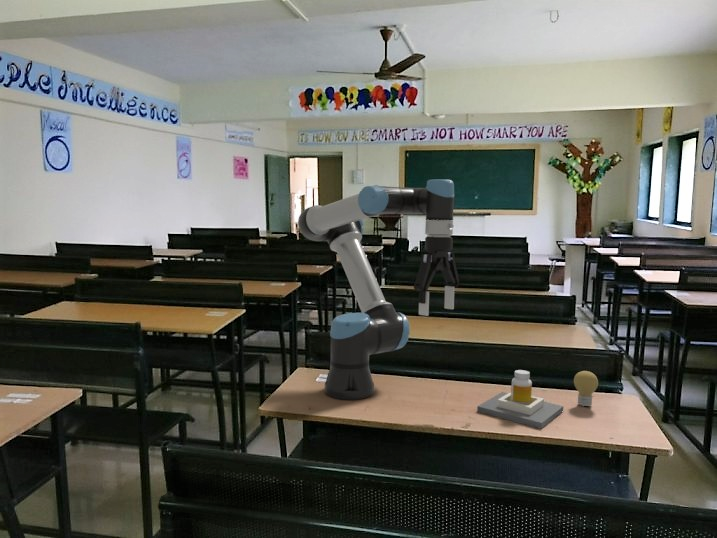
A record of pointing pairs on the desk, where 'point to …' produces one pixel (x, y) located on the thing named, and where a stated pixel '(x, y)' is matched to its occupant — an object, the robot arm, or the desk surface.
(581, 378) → the light bulb
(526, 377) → the supplement bottle
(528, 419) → the holder board
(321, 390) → the desk surface
